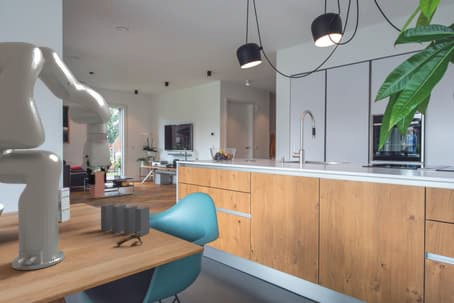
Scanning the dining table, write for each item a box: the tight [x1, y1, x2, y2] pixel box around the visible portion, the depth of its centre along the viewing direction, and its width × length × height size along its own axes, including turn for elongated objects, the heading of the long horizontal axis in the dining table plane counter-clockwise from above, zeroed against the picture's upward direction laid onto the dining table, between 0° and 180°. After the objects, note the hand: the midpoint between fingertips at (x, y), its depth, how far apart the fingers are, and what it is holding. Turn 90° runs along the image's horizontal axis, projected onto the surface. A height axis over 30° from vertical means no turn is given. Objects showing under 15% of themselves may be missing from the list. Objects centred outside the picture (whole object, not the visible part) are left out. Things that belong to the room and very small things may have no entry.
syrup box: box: [58, 187, 71, 223], centre depth 128 cm, size 6×6×14 cm
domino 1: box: [89, 170, 106, 199], centre depth 116 cm, size 2×5×10 cm, turn 158°
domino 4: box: [123, 204, 139, 236], centre depth 110 cm, size 2×5×10 cm, turn 158°
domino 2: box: [100, 202, 116, 233], centre depth 114 cm, size 2×5×10 cm, turn 158°
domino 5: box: [135, 206, 150, 238], centre depth 108 cm, size 2×5×10 cm, turn 158°
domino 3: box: [111, 203, 127, 234], centre depth 112 cm, size 2×5×10 cm, turn 158°
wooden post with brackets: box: [115, 232, 143, 248], centre depth 96 cm, size 2×8×4 cm, turn 105°
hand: (97, 183), depth 116 cm, fingers closed on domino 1, 4 cm apart
